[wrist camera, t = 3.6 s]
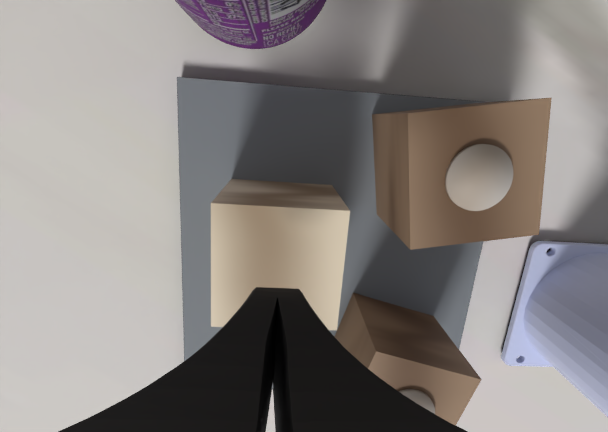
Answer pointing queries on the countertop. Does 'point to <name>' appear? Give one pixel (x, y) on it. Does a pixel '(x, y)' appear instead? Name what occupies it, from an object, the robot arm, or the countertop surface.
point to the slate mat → (313, 170)
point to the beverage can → (253, 19)
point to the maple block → (277, 245)
